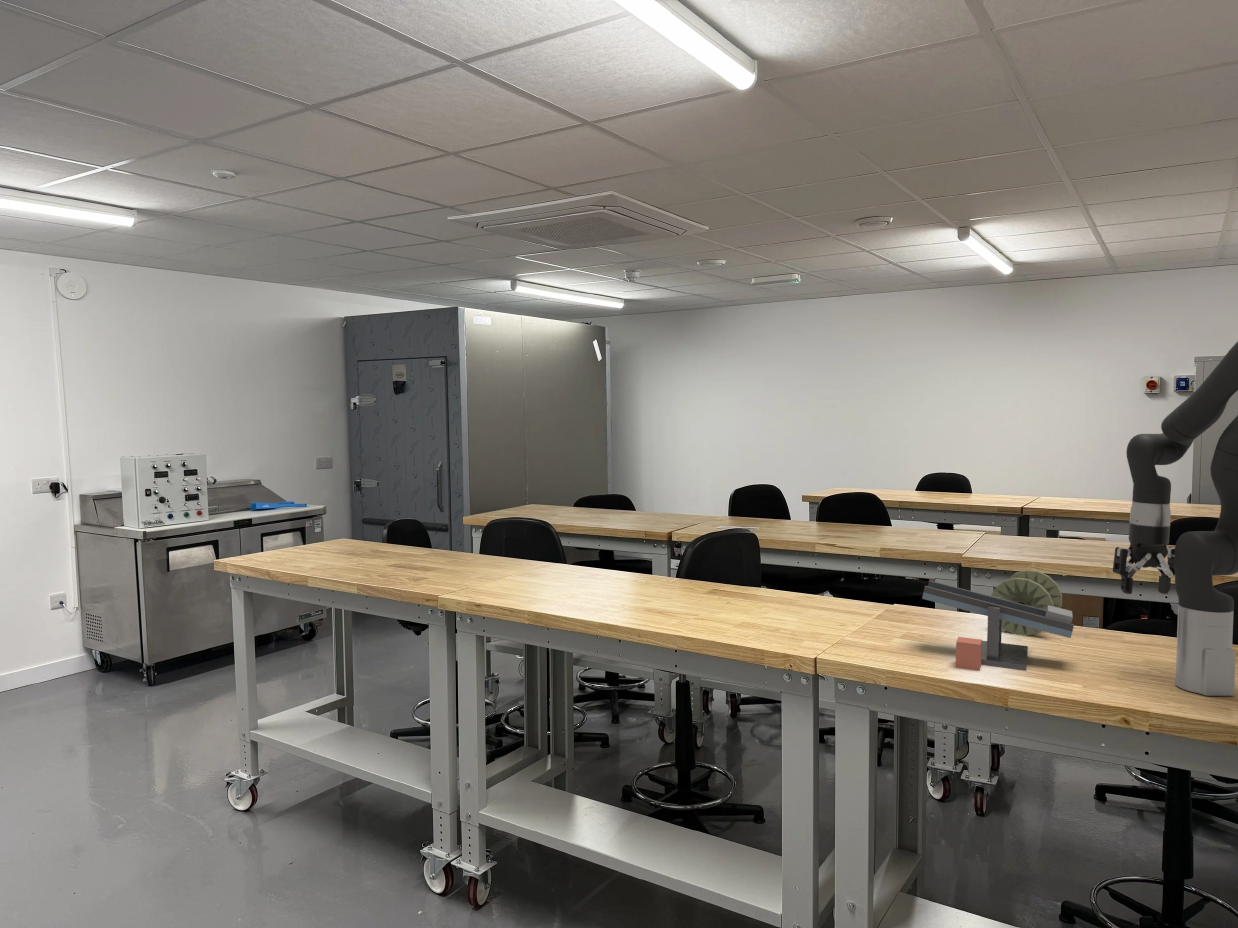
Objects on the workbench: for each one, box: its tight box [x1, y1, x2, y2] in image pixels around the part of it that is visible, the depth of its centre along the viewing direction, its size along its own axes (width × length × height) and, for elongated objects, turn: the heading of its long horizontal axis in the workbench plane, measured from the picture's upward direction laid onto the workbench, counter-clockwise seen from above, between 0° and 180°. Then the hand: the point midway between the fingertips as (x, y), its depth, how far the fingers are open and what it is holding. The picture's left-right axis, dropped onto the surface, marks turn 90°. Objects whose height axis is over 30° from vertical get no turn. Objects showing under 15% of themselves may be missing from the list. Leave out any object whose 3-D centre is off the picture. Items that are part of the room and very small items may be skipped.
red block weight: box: [955, 636, 983, 672], centre depth 177 cm, size 5×5×6 cm
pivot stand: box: [981, 597, 1029, 671], centre depth 185 cm, size 14×18×13 cm
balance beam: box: [921, 580, 1075, 639], centre depth 185 cm, size 32×11×5 cm, turn 61°
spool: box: [990, 569, 1063, 637], centre depth 212 cm, size 16×15×15 cm
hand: (1145, 593), depth 175 cm, fingers open, 8 cm apart
